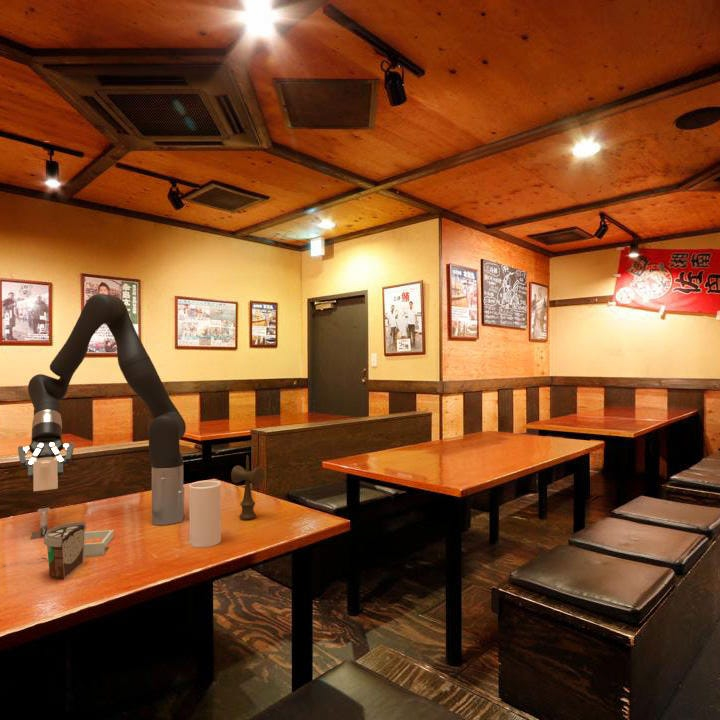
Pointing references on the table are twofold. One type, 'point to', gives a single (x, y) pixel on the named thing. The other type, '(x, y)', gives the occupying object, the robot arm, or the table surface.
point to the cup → (205, 513)
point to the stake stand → (43, 525)
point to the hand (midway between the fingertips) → (45, 476)
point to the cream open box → (45, 473)
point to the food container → (65, 548)
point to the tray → (100, 547)
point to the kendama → (247, 487)
